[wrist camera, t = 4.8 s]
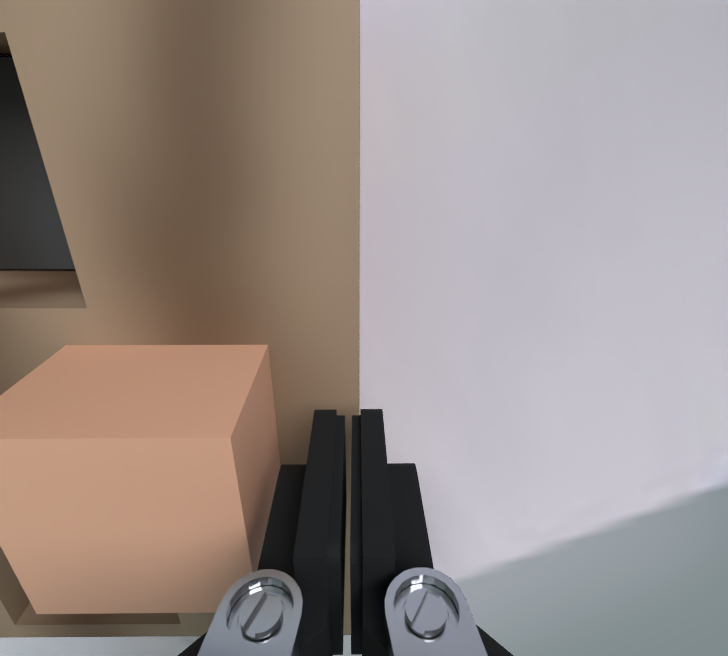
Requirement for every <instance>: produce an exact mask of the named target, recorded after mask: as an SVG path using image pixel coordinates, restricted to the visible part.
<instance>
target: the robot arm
mask: <svg viewBox="0 0 728 656" xmlns="http://www.w3.org/2000/svg"><path fill="white" fill-rule="evenodd" d="M346 509H347V490H346V432H345V415H337V410H336V409H329V410H314V416H313V423H312V430H311V437H310V444H309V451H308V458H307V464H282V465H281V467H280V470H279V474H278V478H277V483H276V487H275V492H274V496H273V501H272V505H271V510H270V514H269V519H268V524H267V528H266V533H265V537H264V542H263V546H262V551H261V555H260V560H259V564H258V569H257V571H255V572H252V573H249V574H247V575H245V576H244V577H242V578H240V579H239V580H237V581H236V582H235V583H234V584H233V585H232V586H231V587H230V588H229V589H228V590H227V592H226V594H225V595H224V597H223V599H222V600H221V602H220V604H219V606H218V609H217V611H216V613H215V616H214V618H213V620H212V623H211V625H210V627H209V629H208V631H207V632H206V633H205V634H204V635H202V636H201V637H200V638H199V639H198V640H196V641H195V642H194V643H193V644H191V645H190V646H189V647H188V648H187V649H185V650H184V651H183V652H182V653H181V654H179V655H178V656H333V655H342V654H343V628H344V588H345V549H346ZM350 595H351V654H362V656H513V655H512V654H511V653H510V652H508V651H507V650H506V649H505V648H504V647H502V646H501V645H500V644H499V643H497V642H496V641H495V640H494V639H493V638H491V637H490V636H489V635H488V634H487V633H486V632H484V631H483V630H482V629H481V628H480V627H478V626H477V625H476V624H475V621H474V619H473V616H472V613H471V611H470V608H469V605H468V603H467V600H466V598H465V597H464V594H463V593H462V591H461V589H460V587H459V586H458V585H457V584H456V583H455V582H454V581H453V580H452V579H451V578H450V577H448V576H447V575H445V574H443V573H442V572H440V571H438V570H434V568H433V562H432V557H431V551H430V545H429V539H428V533H427V528H426V522H425V516H424V510H423V504H422V499H421V493H420V487H419V481H418V475H417V470H416V466H415V464H414V463H403V464H387V456H386V445H385V434H384V422H383V412H382V409H361V415H352V449H351V517H350Z"/></svg>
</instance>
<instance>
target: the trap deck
mask: <svg viewBox="0 0 728 656" xmlns="http://www.w3.org/2000/svg"><path fill="white" fill-rule="evenodd" d="M0 54H12V57H0V395H2V394H3V393H4V392H5V391H7V390H8V389H9V388H11V387H12V386H13V385H15V384H16V383H17V382H19V381H20V380H21V379H22V378H24V377H25V376H26V375H28V374H29V373H30V372H32V371H33V370H34V369H36V368H37V367H38V366H39V365H41V364H42V363H43V362H45V361H46V360H47V359H49V358H50V357H51V356H52V355H54V354H55V353H56V352H58V351H59V350H60V349H62V348H63V347H64V346H66V345H268V349H269V359H270V369H271V378H272V388H273V397H274V407H275V416H276V426H277V435H278V445H279V455H280V464H281V465H282V464H307V458H308V451H309V444H310V437H311V430H312V423H313V416H314V410H329V409H336V410H337V415H345V432H346V490H347V509H346V549H345V588H344V628H343V635H351V595H350V517H351V449H352V415H359V209H360V0H0ZM214 616H215V613H106V614H36V612H35V610H34V608H33V606H32V605H31V603H30V601H29V599H28V597H27V595H26V593H25V591H24V590H23V588H22V586H21V584H20V582H19V580H18V578H17V576H16V575H15V573H14V571H13V569H12V567H11V565H10V563H9V561H8V559H7V558H6V556H5V554H4V552H3V550H2V548H1V546H0V637H125V636H202V635H204V634H205V633H206V632H207V631H208V629H209V627H210V625H211V623H212V620H213V618H214Z"/></svg>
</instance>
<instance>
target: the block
mask: <svg viewBox="0 0 728 656" xmlns="http://www.w3.org/2000/svg"><path fill="white" fill-rule="evenodd" d="M280 467H281V464H280V455H279V445H278V435H277V426H276V416H275V407H274V397H273V388H272V378H271V369H270V359H269V349H268V345H66V346H64V347H63V348H62V349H60V350H59V351H58V352H56V353H55V354H54V355H52V356H51V357H50V358H49V359H47V360H46V361H45V362H43V363H42V364H41V365H39V366H38V367H37V368H36V369H34V370H33V371H32V372H30V373H29V374H28V375H26V376H25V377H24V378H22V379H21V380H20V381H19V382H17V383H16V384H15V385H13V386H12V387H11V388H9V389H8V390H7V391H5V392H4V393H3V394H2V395H0V546H1V548H2V550H3V552H4V554H5V556H6V558H7V559H8V561H9V563H10V565H11V567H12V569H13V571H14V573H15V575H16V576H17V578H18V580H19V582H20V584H21V586H22V588H23V590H24V591H25V593H26V595H27V597H28V599H29V601H30V603H31V605H32V606H33V608H34V610H35V612H36V614H106V613H216V611H217V609H218V606H219V604H220V602H221V600H222V599H223V597H224V595H225V594H226V592H227V590H228V589H229V588H230V587H231V586H232V585H233V584H234V583H235V582H236V581H237V580H239V579H240V578H242V577H244V576H245V575H247V574H249V573H252V572H255V571H257V569H258V564H259V560H260V555H261V551H262V546H263V542H264V537H265V533H266V528H267V524H268V519H269V514H270V510H271V505H272V501H273V496H274V492H275V487H276V483H277V478H278V474H279V470H280Z"/></svg>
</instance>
